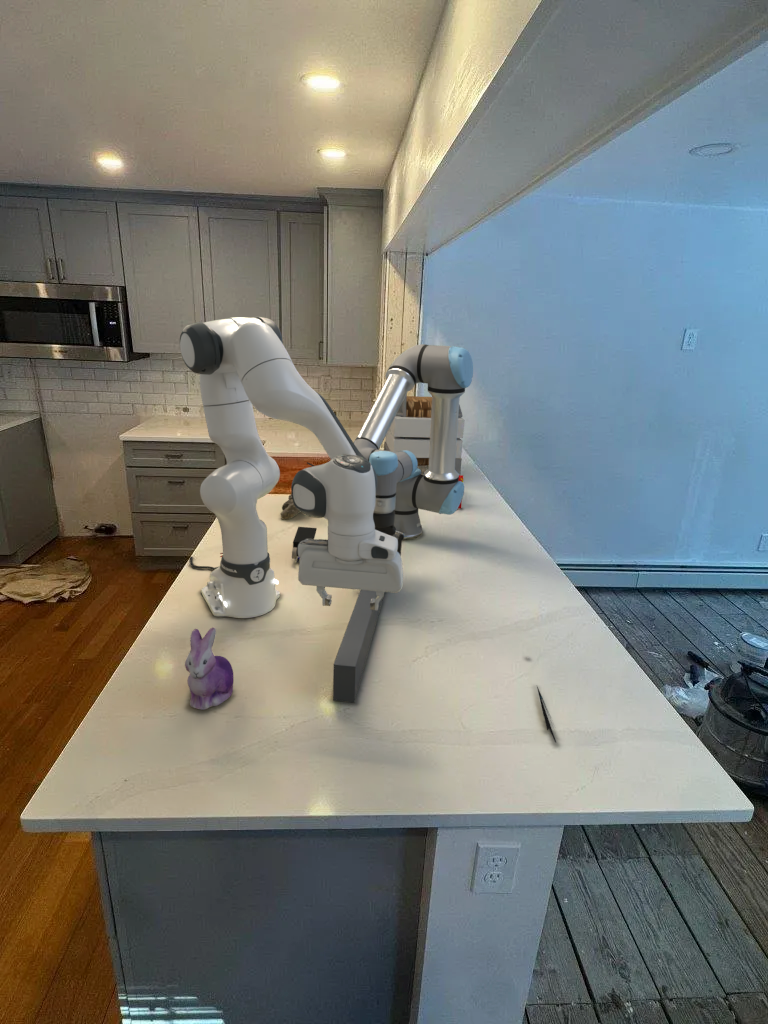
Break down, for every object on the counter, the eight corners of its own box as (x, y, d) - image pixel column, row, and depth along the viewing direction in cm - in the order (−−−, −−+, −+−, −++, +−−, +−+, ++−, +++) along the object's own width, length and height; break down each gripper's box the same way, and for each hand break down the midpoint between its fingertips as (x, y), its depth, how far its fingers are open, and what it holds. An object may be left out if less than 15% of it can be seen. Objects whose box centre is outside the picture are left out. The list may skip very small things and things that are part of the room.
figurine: (192, 718, 107) (185, 650, 102) (183, 687, 116) (177, 623, 111) (241, 704, 111) (238, 639, 106) (229, 675, 120) (225, 613, 115)
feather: (528, 662, 131) (533, 656, 131) (556, 747, 105) (562, 740, 104) (522, 659, 131) (527, 652, 130) (548, 742, 104) (555, 735, 104)
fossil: (285, 490, 226) (313, 470, 221) (301, 508, 229) (329, 489, 224) (270, 515, 206) (301, 493, 201) (287, 534, 209) (318, 513, 204)
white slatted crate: (382, 463, 289) (386, 382, 275) (445, 464, 293) (451, 384, 279) (390, 482, 257) (394, 392, 243) (460, 483, 261) (468, 394, 247)
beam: (372, 581, 164) (373, 554, 162) (387, 582, 164) (388, 555, 161) (332, 700, 114) (333, 664, 111) (354, 702, 114) (355, 666, 111)
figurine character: (313, 570, 172) (317, 545, 186) (312, 548, 169) (317, 525, 182) (290, 569, 172) (297, 545, 186) (290, 548, 169) (296, 524, 182)
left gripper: (292, 543, 105) (294, 609, 110) (402, 552, 103) (399, 619, 107) (301, 531, 111) (303, 594, 116) (405, 539, 109) (402, 603, 113)
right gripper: (346, 511, 149) (344, 590, 157) (412, 517, 148) (407, 596, 155) (351, 502, 156) (349, 578, 164) (414, 507, 155) (409, 584, 163)
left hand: (350, 606), depth 111 cm, fingers open, 8 cm apart
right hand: (377, 587), depth 160 cm, fingers closed on beam, 4 cm apart
